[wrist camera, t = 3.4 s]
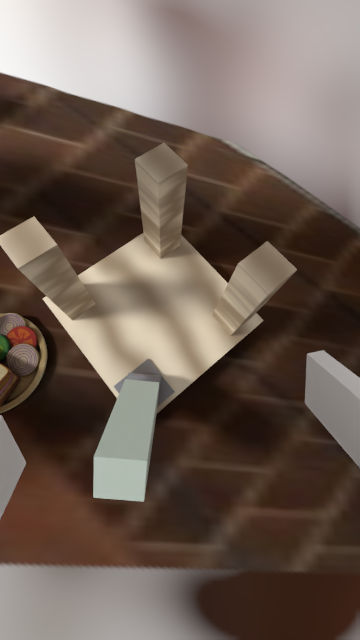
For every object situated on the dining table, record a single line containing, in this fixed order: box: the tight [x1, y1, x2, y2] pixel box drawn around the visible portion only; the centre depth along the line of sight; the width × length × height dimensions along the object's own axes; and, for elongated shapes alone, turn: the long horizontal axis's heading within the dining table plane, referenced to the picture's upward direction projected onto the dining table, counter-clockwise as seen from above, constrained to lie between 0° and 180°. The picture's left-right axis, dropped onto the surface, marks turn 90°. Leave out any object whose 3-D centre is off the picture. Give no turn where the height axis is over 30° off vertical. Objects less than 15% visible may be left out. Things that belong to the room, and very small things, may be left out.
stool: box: [0, 143, 297, 414], centre depth 29 cm, size 20×20×16 cm
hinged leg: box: [93, 373, 161, 502], centre depth 24 cm, size 4×4×13 cm
